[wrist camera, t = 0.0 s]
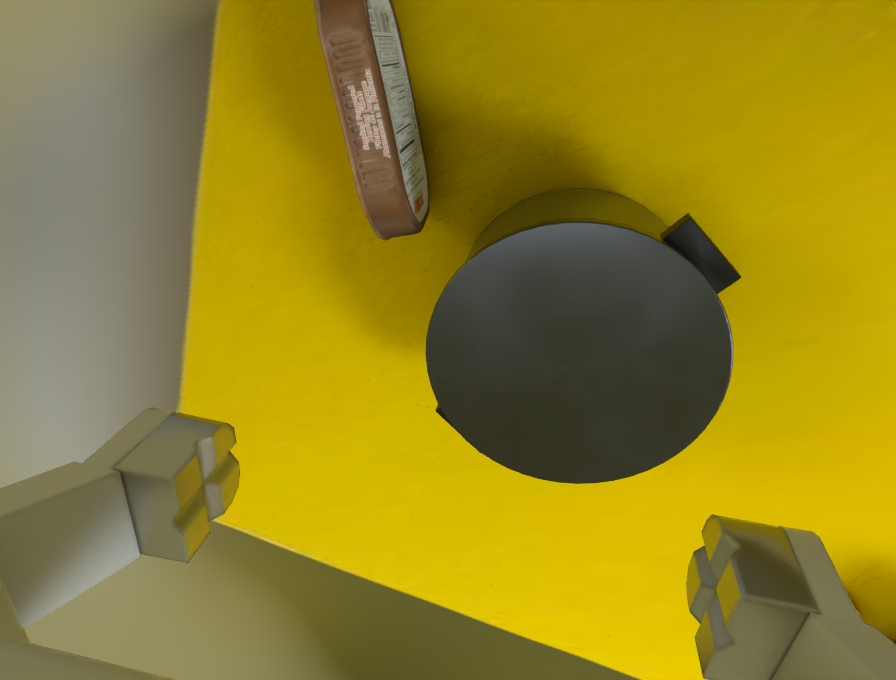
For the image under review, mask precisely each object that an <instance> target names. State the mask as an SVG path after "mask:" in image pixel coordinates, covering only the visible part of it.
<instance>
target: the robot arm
mask: <svg viewBox="0 0 896 680" xmlns="http://www.w3.org/2000/svg"><path fill="white" fill-rule="evenodd" d="M235 444H236V437H235V431H234V427H233V426H231V425H230V424H228V423H224V422H220V421H215V420H210V419H206V418H201V417H196V416H192V415H187V414H182V413H175V412H170V411H166V410H161V409H156V408H150V409H146V410H143V411H142V412H141V413H140V414H139V415H137V416H136V417H135V418H134V419H133V420H132V421H130V422H129V423H128V424H127V425H126V426H125V427H123V428H122V429H121V430H120V431H119V432H118V433H117V434H115V435H114V436H113V437H112V438H111V439H110V440H109V441H107V442H106V443H105V444H104V445H103V446H102V447H100V448H99V449H98V450H97V451H96V452H95V453H94V454H92V456H90V457H89V458H88V459H87V460H86V461H85V462H83V463H77V462H72V463H69V464H66V465H64V466H61V467H58V468H55V469H53V470H50V471H47V472H44V473H42V474H39V475H36V476H33V477H31V478H28V479H26V480H23V481H20V482H17V483H14V484H11V485H9V486H6V487H3V488H0V680H175V679H171V678H167V677H163V676H158V675H155V674H151V673H147V672H143V671H139V670H135V669H131V668H127V667H123V666H119V665H115V664H111V663H107V662H103V661H99V660H95V659H91V658H88V657H84V656H80V655H75V654H71V653H68V652H64V651H60V650H56V649H52V648H48V647H44V646H40V645H36V644H32V643H30V642H29V640H28V637H27V635H26V633H25V630H24V629H25V628H27V627H28V626H30V625H32V624H33V623H35V622H36V621H38V620H40V619H41V618H43V617H44V616H46V615H48V614H49V613H51V612H52V611H54V610H56V609H57V608H59V607H61V606H62V605H64V604H65V603H67V602H69V601H70V600H72V599H73V598H75V597H77V596H78V595H80V594H81V593H83V592H85V591H86V590H88V589H90V588H91V587H93V586H94V585H96V584H97V583H99V582H101V581H102V580H104V579H106V578H107V577H109V576H110V575H112V574H114V573H115V572H117V571H119V570H120V569H122V568H123V567H125V566H126V565H128V564H130V563H131V562H133V561H135V560H136V559H138V558H139V557H140V556H141V555H140V554H144V555H149V556H154V557H159V558H165V559H170V560H175V561H180V562H185V563H189V561H190V560H191V558H192V557H193V556H194V554H195V553H196V552H197V550H198V549H199V547H200V546H201V545H202V543H203V542H204V541H205V539H206V538H207V537H208V535H209V534H210V528H209V521H211V520H213V519H215V518H217V517H219V516H221V515H223V514H224V513H225V512H226V510H227V509H228V507H229V506H230V504H231V503H232V502H233V499H234V496H235V494H236V491H237V488H238V486H239V477H240V469H239V462H238V461H237V459H236V458H235V457H234V456H233V454H232V453H231V452H230V450H231V448H232V447H233V446H234V445H235ZM702 536H703V540H704V544H705V546H703V547H701V548H699V549H698V550H696V551H694V552H693V555H692V558H691V561H690V564H689V567H688V574H687V582H686V588H687V600H688V605H689V611H690V613H691V614H692V615H693V616H694V617H695V618H696V620H697V621H698V622H699V623H700V626H699V629H698V631H697V633H696V636H695V641H696V646H697V650H698V655H699V660H700V665H701V669H702V674H703V678H705V679H709V680H896V644H894V643H893V642H892V641H891V640H890V639H889V638H887V637H886V636H885V635H884V634H883V633H882V632H880V631H879V630H878V629H877V628H876V627H875V626H873V625H868V624H864V623H862V621H861V619H860V617H859V615H858V613H857V611H856V609H855V607H854V605H853V603H852V601H851V599H850V597H849V595H848V593H847V591H846V589H845V587H844V585H843V583H842V581H841V579H840V577H839V575H838V573H837V571H836V569H835V567H834V565H833V563H832V561H831V559H830V557H829V555H828V553H827V551H826V549H825V547H824V545H823V543H822V541H821V539H820V537H819V536H818V535H816V534H815V533H814V532H811V531H805V530H799V529H794V528H788V527H782V526H778V527H776V526H773V525H767V524H762V523H756V522H751V521H745V520H740V519H734V518H729V517H723V516H718V515H711V516H710V517H709V518H708V519H707V520H706V523H705V525H704V528H703V530H702Z"/></svg>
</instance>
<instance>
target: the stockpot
mask: <svg viewBox="0 0 896 680" xmlns="http://www.w3.org/2000/svg"><path fill="white" fill-rule="evenodd" d="M740 278H741V276H740V274H739V273H738V271H737V270H736V269H735V268H734V267H733V265H732V264H731V263H730V262H729V261H728V259H727V258H726V257H725V256H724V255H723V253H722V252H721V251H720V250H719V249H718V247H717V246H716V245H715V244H714V243H713V241H712V240H711V239H710V238H709V237H708V236H707V234H706V233H705V232H704V231H703V230H702V228H701V227H700V226H699V225H698V224H697V222H696V221H695V220H694V219H693V218H692V216H691V215H690V214H689V213H688V214H686V215H685V216H683V217H682V218H681V219H679V220H678V221H677V222H676V223H674V224H673V225H672V226H670V227H669V228H668V227H667V226H666V225H665V224H664V223H663V222H662V221H661V220H660V219H659V218H658V217H657V216H656V215H655V214H653V213H652V212H651V211H649V210H648V209H647V208H645V207H644V206H642V205H640V204H638V203H636V202H635V201H633V200H631V199H628V198H626V197H623V196H620V195H618V194H615V193H611V192H606V191H602V190H596V189H586V188H572V189H561V190H555V191H549V192H546V193H542V194H539V195H536V196H533V197H531V198H528V199H526V200H524V201H521V202H519V203H518V204H516V205H514V206H513V207H511V208H509V209H508V210H506V211H505V212H504V213H502V214H501V215H500V216H499V217H497V218H496V219H495V220H494V221H493V222H492V223H491V224H490V225H489V226H488V227H487V228H486V229H485V230H484V231H483V233H482V234H481V236H480V237H479V238H478V240H477V241H476V242H475V244H474V246H473V248H472V250H471V252H470V253H469V255H468V258H467V260H466V262H465V263H464V264H463V265H462V266H461V267H460V268H459V269H458V270H457V271H456V272H455V274H454V275H453V276H452V278H451V279H450V280H449V282H448V283H447V285H446V286H445V288H444V290H443V292H442V294H441V296H440V297H439V299H438V301H437V303H436V305H435V308H434V311H433V314H432V316H431V319H430V323H429V328H428V333H427V338H426V362H427V371H428V375H429V379H430V383H431V387H432V389H433V392H434V394H435V397H436V399H437V402H438V405H437V408H436V412H437V413H438V414H439V415H440V416H441V417H442V418H443V419H445V420H446V421H447V422H448V423H449V424H450V425H451V426H452V427H453V428H454V429H455V430H456V431H457V432H458V433H460V434H461V436H462V437H463V438H464V439H465V440H466V441H467V442H469V443H470V444H471V445H472V446H473V447H475V448H476V449H477V450H478V451H479V452H480V453H482V454H484V455H486V456H487V457H489V458H490V459H492V460H493V461H495V462H497V463H499V464H501V465H503V466H505V467H507V468H509V469H511V470H514V471H516V472H519V473H521V474H524V475H527V476H531V477H535V478H538V479H542V480H548V481H554V482H560V483H575V484H582V483H600V482H607V481H614V480H618V479H622V478H627V477H631V476H634V475H636V474H639V473H642V472H645V471H648V470H650V469H652V468H654V467H656V466H658V465H660V464H662V463H664V462H666V461H667V460H669V459H670V458H672V457H674V456H675V455H677V454H678V453H680V452H681V451H682V450H683V449H685V448H686V447H687V446H688V445H690V444H691V443H692V442H693V441H694V440H695V439H696V438H697V437H698V436H699V435H700V434H701V433H702V432H703V431H704V430H705V428H706V427H707V426H708V424H709V423H710V421H711V420H712V419H713V417H714V416H715V414H716V413H717V411H718V409H719V407H720V405H721V403H722V401H723V399H724V397H725V394H726V391H727V388H728V385H729V382H730V377H731V372H732V366H733V341H732V334H731V328H730V324H729V321H728V318H727V315H726V312H725V309H724V307H723V305H722V303H721V301H720V299H719V297H718V295H717V294H718V293H719V292H721V291H722V290H724V289H725V288H727V287H728V286H730V285H731V284H733V283H734V282H736V281H737V280H739V279H740Z"/></svg>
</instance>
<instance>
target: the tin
mask: <svg viewBox="0 0 896 680" xmlns="http://www.w3.org/2000/svg"><path fill="white" fill-rule="evenodd" d="M314 5H315V14H316V21H317V27H318V32H319V36H320V41H321V46H322V50H323V54H324V58H325V62H326V66H327V70H328V74H329V78H330V81H331V86H332V90H333V94H334V98H335V102H336V106H337V110H338V114H339V118H340V122H341V126H342V130H343V134H344V138H345V142H346V146H347V150H348V155H349V159H350V162H351V166H352V171H353V175H354V179H355V183H356V187H357V191H358V195H359V198H360V201H361V204H362V207H363V209H364V212H365V215H366V217H367V219H368V221H369V223H370V225H371V227H372V229H373V231H374V232H375V233H376V235H377V236H379V237H380V238H381V239H383V240H388V239H390V238H392V237H398V236H405V235H412V234H416V233H419V232H421V230H422V229H423V227H424V224H425V222H426V219H427V217H428V214H429V184H428V175H427V168H426V162H425V156H424V151H423V146H422V140H421V135H420V129H419V124H418V118H417V113H416V107H415V102H414V97H413V92H412V87H411V82H410V77H409V72H408V67H407V62H406V57H405V52H404V47H403V42H402V37H401V33H400V29H399V25H398V21H397V17H396V14H395V10H394V6H393V3H392V0H314Z"/></svg>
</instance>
